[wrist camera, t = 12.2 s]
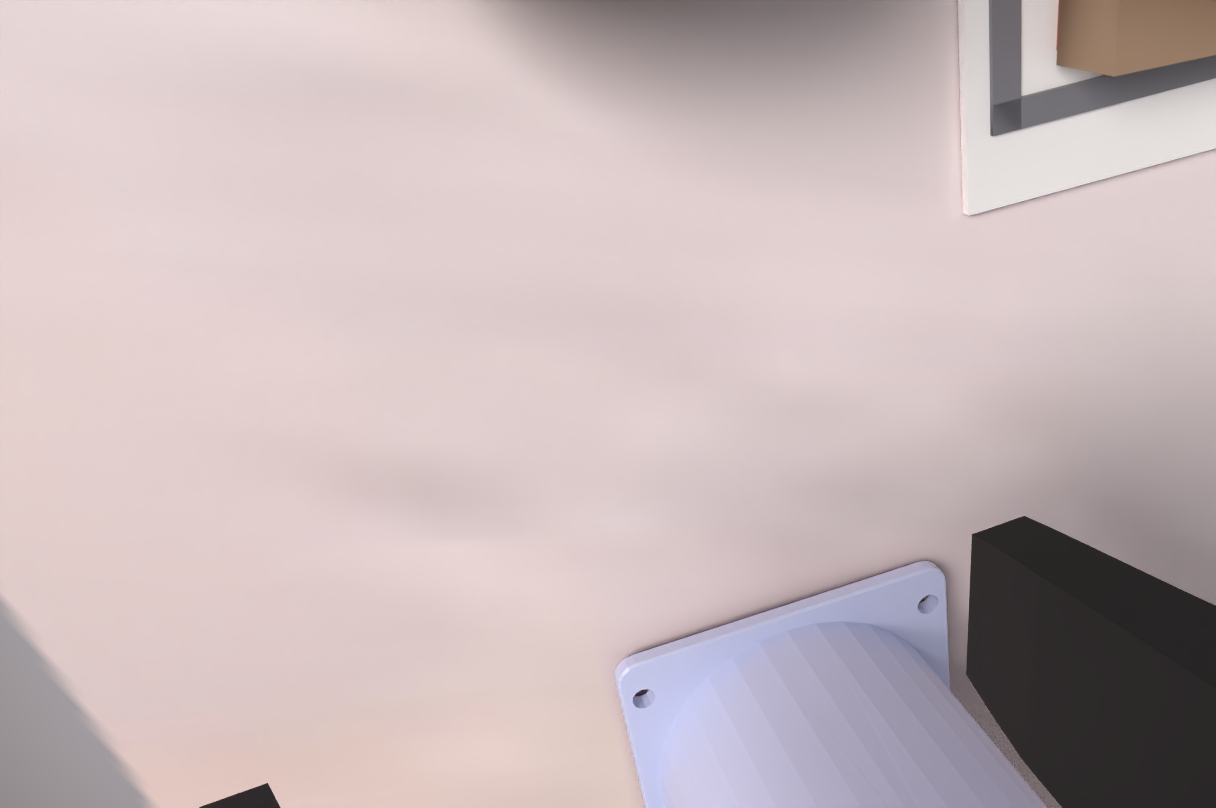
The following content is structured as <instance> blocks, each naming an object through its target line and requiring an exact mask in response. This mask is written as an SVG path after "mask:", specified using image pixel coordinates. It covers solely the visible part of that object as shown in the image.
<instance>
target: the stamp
mask: <svg viewBox="0 0 1216 808" xmlns="http://www.w3.org/2000/svg"><path fill="white" fill-rule="evenodd" d="M1056 50H1057V61H1056V65H1058V66H1063V67H1068V68H1073V69H1078V70H1083V71H1088V72H1093V73H1098V74H1103V75H1108V76H1113V77H1115V76H1120V75H1124V74H1129V73H1134V72H1138V71H1143V70H1148V69H1152V68H1157V67H1161V66H1166V65H1171V64H1175V63H1180V62H1185V61H1189V60H1194V59H1199V58H1203V57H1208V56H1213V55H1216V0H1059V4H1058V25H1057V45H1056Z"/></svg>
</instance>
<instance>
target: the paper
mask: <svg viewBox="0 0 1216 808" xmlns="http://www.w3.org/2000/svg"><path fill="white" fill-rule="evenodd" d="M1058 4H1059V0H958V23H959V65H960V106H961V147H962V189H963V214H966V215H968V216H970V215H974V214H977V213H981V212H985V211H988V210H992V209H996V208H999V207H1003V206H1007V205H1010V204H1014V203H1018V202H1021V201H1025V200H1029V199H1032V198H1036V197H1040V196H1043V195H1047V194H1051V193H1054V192H1058V191H1062V190H1065V189H1069V188H1073V187H1076V186H1080V185H1083V184H1087V183H1091V182H1094V181H1098V180H1102V179H1105V178H1109V177H1113V176H1116V175H1120V174H1124V173H1127V172H1131V171H1135V170H1138V169H1142V168H1146V167H1149V166H1153V165H1157V164H1160V163H1164V162H1168V161H1171V160H1175V159H1179V158H1182V157H1186V156H1190V155H1193V154H1197V153H1201V152H1204V151H1208V150H1212V149H1215V148H1216V55H1213V56H1208V57H1203V58H1199V59H1194V60H1189V61H1185V62H1180V63H1175V64H1171V65H1166V66H1161V67H1157V68H1152V69H1148V70H1143V71H1138V72H1134V73H1129V74H1124V75H1120V76H1115V77H1113V76H1108V75H1103V74H1098V73H1093V72H1088V71H1083V70H1078V69H1073V68H1068V67H1063V66H1058V65H1056V61H1057V50H1056V45H1057V25H1058Z"/></svg>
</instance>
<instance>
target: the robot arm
mask: <svg viewBox="0 0 1216 808" xmlns="http://www.w3.org/2000/svg"><path fill="white" fill-rule="evenodd" d="M927 595H929V596H928V597H927V599H926V600H925V601H924V602H922V603H920V604H919V602H920V601H921V600H922V598H924V597H926V596H927ZM966 675H967V676H968V678H969V679H970V681H971V682H972V684H973V686H974V687H975V689H976V690H977V692H978V693H979V695H980V696H981V698H982V700H983V701H984V703H985V704H986V706H987V707H988V709H989V711H990V712H991V714H992V715H993V717H994V718H995V720H996V721H997V723H998V724H999V726H1000V727H1001V729H1002V730H1003V732H1004V733H1005V735H1006V736H1007V738H1008V739H1009V740H1010V742H1011V743H1012V745H1013V746H1014V748H1015V749H1016V751H1017V752H1018V754H1019V755H1020V757H1021V758H1022V760H1023V761H1024V762H1025V763H1026V764H1027V766H1028V767H1029V768H1030V769H1031V771H1032V772H1033V773H1034V774H1035V775H1036V777H1037V778H1038V779H1039V780H1040V781H1041V783H1042V784H1043V785H1044V786H1045V787H1046V789H1047V790H1048V791H1049V792H1050V793H1051V795H1052V796H1053V797H1054V798H1055V799H1056V801H1057V802H1058V803H1059V804H1060V805H1061V806H1062V808H1216V606H1215V605H1213V604H1211V603H1208V602H1206V601H1204V600H1202V599H1200V598H1198V597H1196V596H1193V595H1191V594H1189V593H1187V592H1185V591H1183V590H1181V589H1178V588H1176V587H1174V586H1172V585H1170V584H1168V583H1166V582H1164V581H1162V580H1159V579H1157V578H1155V577H1153V576H1151V575H1149V574H1147V573H1145V572H1143V571H1141V570H1138V569H1136V568H1134V567H1132V566H1130V565H1128V564H1126V563H1124V562H1122V561H1120V560H1117V559H1115V558H1113V557H1111V556H1109V555H1107V554H1105V553H1103V552H1101V551H1099V550H1097V549H1095V548H1092V547H1090V546H1088V545H1086V544H1084V543H1082V542H1080V541H1078V540H1076V539H1074V538H1071V537H1069V536H1067V535H1065V534H1063V533H1061V532H1059V531H1056V530H1054V529H1052V528H1050V527H1048V526H1046V525H1043V524H1041V523H1039V522H1037V521H1034V520H1032V519H1030V518H1028V517H1025V516H1023V517H1020V518H1017V519H1014V520H1012V521H1009V522H1006V523H1003V524H1000V525H997V526H995V527H992V528H989V529H986V530H983V531H980V532H978V533H975V534H972V549H971V573H970V597H969V622H968V645H967V670H966ZM615 682H616V687H617V691H618V695H619V699H620V704H621V708H622V712H623V717H624V721H625V725H626V729H627V734H628V738H629V742H630V746H631V751H632V755H633V759H634V764H635V768H636V772H637V776H638V781H639V785H640V789H641V793H642V798H643V802H644V806H645V808H1048V807H1047V806H1046V805H1045V804H1044V803H1043V801H1042V800H1041V799H1040V798H1039V797H1038V795H1037V794H1036V793H1035V792H1034V791H1033V789H1032V788H1031V787H1030V786H1029V785H1028V783H1027V782H1026V781H1025V780H1024V779H1023V777H1022V776H1021V775H1020V774H1019V773H1018V771H1017V770H1016V769H1015V768H1014V767H1013V765H1012V764H1011V763H1010V762H1009V761H1008V759H1007V758H1006V757H1005V756H1004V755H1003V753H1002V752H1001V751H1000V750H999V749H998V747H997V746H996V745H995V744H994V743H993V741H992V740H991V739H990V738H989V737H988V735H987V734H986V733H985V732H984V731H983V729H982V728H981V727H980V726H979V725H978V723H977V722H976V721H975V720H974V719H973V717H972V716H971V715H970V714H969V713H968V711H967V710H966V709H965V708H964V707H963V705H962V704H961V703H960V702H959V701H958V699H957V698H956V697H955V696H954V694H953V693H952V692H951V691H950V677H949V651H948V625H947V599H946V579H945V575H944V573H943V572H942V571H941V570H940V569H939V568H938V567H937V566H936V565H935V564H934V563H933V562H929V561H921V562H917V563H914V564H911V565H907V566H904V567H901V568H898V569H895V570H892V571H889V572H886V573H883V574H880V575H877V576H874V577H871V578H867V579H864V580H861V581H858V582H855V583H852V584H849V585H846V586H843V587H840V588H837V589H834V590H831V591H827V592H824V593H821V594H818V595H815V596H812V597H809V598H806V599H803V600H800V601H797V602H794V603H791V604H787V605H784V606H781V607H778V608H775V609H772V610H769V611H766V612H763V613H760V614H757V615H754V616H751V617H747V618H744V619H741V620H738V621H735V622H732V623H729V624H726V625H723V626H720V627H717V628H714V629H711V630H708V631H704V632H701V633H698V634H695V635H692V636H689V637H686V638H683V639H680V640H677V641H674V642H671V643H668V644H664V645H661V646H658V647H655V648H652V649H649V650H646V651H643V652H640V653H637V654H634V655H631V656H629V657H627V658H625V659H624V660H623V661H622V662H621V663H620V664H619V665H618V666H617V668H616V671H615ZM645 689H649V690H648V691H647V693H646V694H644V695H642V696H637V697H634V696H635V694H636V693H637V692H639V691H641V690H645ZM199 808H280V806H279V804H278V802H277V800H276V798H275V796H274V794H273V792H272V790H271V789H270V787H269V785H268V783H267V784H264V785H261V786H258V787H255V788H253V789H250V790H247V791H244V792H241V793H238V794H236V795H233V796H230V797H227V798H224V799H221V800H219V801H216V802H213V803H210V804H207V805H204V806H202V807H199Z"/></svg>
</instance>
